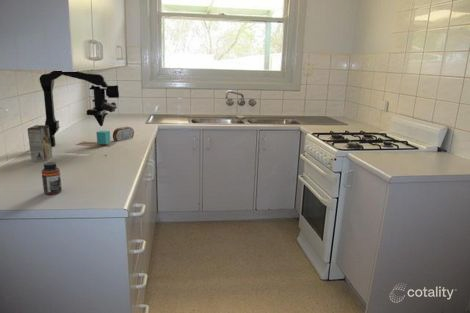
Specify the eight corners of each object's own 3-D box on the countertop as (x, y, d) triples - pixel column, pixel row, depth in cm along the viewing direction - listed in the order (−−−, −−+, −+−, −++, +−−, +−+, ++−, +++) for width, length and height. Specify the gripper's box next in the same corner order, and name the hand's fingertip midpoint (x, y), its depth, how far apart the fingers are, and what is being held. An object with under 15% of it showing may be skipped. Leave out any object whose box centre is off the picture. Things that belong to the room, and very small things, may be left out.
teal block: (106, 144, 201) (105, 132, 200) (97, 143, 202) (96, 132, 200) (110, 142, 206) (109, 130, 205) (101, 141, 207) (101, 130, 205)
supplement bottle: (43, 191, 135) (40, 161, 132) (60, 188, 138) (58, 160, 135) (44, 196, 130) (41, 166, 128) (62, 193, 133) (59, 164, 130)
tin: (131, 138, 227) (130, 125, 225) (135, 139, 226) (134, 126, 224) (112, 142, 215) (111, 128, 213) (116, 143, 213) (115, 129, 211)
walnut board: (108, 149, 200) (108, 147, 199) (75, 146, 202) (74, 144, 202) (116, 145, 208) (116, 143, 208) (83, 143, 211) (83, 141, 211)
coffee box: (39, 156, 181) (36, 124, 177) (52, 156, 182) (49, 125, 178) (30, 161, 172) (26, 128, 168) (44, 161, 173) (41, 128, 169)
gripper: (104, 100, 188) (106, 129, 192) (121, 96, 206) (122, 124, 210) (84, 99, 189) (87, 128, 193) (102, 96, 207) (104, 123, 211)
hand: (101, 126), depth 202 cm, fingers closed
